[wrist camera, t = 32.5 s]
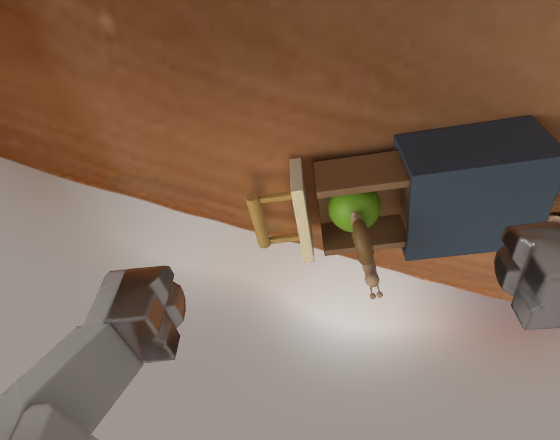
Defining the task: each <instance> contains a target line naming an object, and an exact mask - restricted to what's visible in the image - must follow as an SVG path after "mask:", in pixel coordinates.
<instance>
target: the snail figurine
mask: <svg viewBox="0 0 560 440" xmlns="http://www.w3.org/2000/svg"><path fill="white" fill-rule="evenodd" d="M380 211H381V202H380V198H379V195H378V193H377V192H376V191H374V192H366V193H358V194H350V195H343V196H335V197H330V198H329V201H328V212H329V215H330V218H331V220H332V221H333V222H334V224H335V225H336V226H338V227H339V228H340V229H342V230H344V231H347V232H352V238H353V241H354V245H355V248H356V251H357V255H358V259H359V261H360V263H361V264H362V266H363V269H364V272H365V280H366V283H367V284H368V285H369V286H370V289H371V287H376V286H377V287H378V283H379V277H378V275H377V272H376V265H375V261H374V257H373V254H374V250H373V244H372V240H371V237H370V233H369V230H368V228H370V227H371V226H372V225H373V224H374V223H375V222H376V221H377V219H378V217H379V215H380ZM378 291H379V288H378ZM382 296H383V294H382V292H380V291H379V292H378V293H377V297H379V298H380V297H382ZM375 297H376V296H375V294H374V293H372V289H371V294H370V298H371V299H374V298H375Z"/></svg>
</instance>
